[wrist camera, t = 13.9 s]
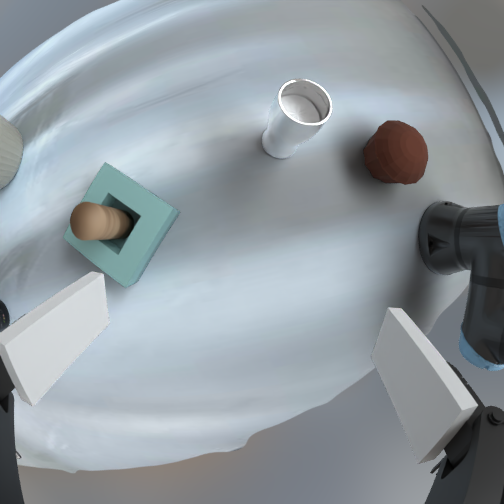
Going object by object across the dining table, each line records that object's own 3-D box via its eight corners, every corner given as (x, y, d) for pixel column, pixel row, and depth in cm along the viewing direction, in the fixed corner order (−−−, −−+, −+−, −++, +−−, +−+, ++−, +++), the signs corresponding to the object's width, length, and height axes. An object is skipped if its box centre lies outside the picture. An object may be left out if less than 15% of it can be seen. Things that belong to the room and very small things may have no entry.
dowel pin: (139, 219, 38) (107, 214, 26) (124, 244, 38) (89, 248, 26) (118, 205, 38) (81, 194, 26) (104, 229, 38) (64, 227, 26)
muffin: (383, 122, 44) (412, 103, 34) (414, 169, 45) (447, 159, 35) (344, 150, 43) (372, 132, 33) (380, 201, 44) (413, 195, 34)
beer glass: (263, 164, 42) (283, 130, 27) (254, 125, 41) (269, 78, 26) (304, 158, 42) (341, 125, 27) (294, 121, 42) (324, 76, 27)
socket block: (180, 212, 41) (173, 208, 35) (138, 281, 41) (125, 288, 35) (119, 170, 39) (105, 162, 33) (80, 237, 39) (62, 237, 33)
